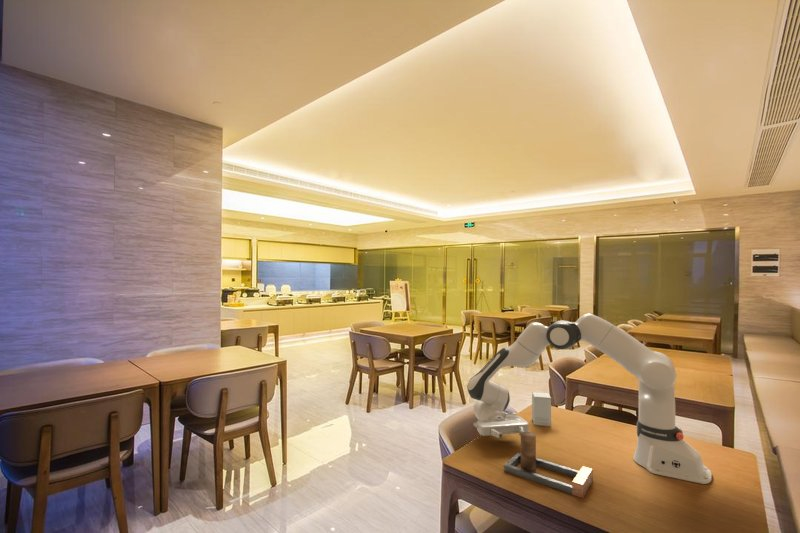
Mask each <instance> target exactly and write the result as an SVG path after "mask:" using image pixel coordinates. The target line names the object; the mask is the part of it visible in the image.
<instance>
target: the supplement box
mask: <svg viewBox="0 0 800 533" xmlns="http://www.w3.org/2000/svg"><path fill="white" fill-rule="evenodd" d="M531 394H532V395H531V401H532V402H531V420H532V422H533V425H535V426H544V427H545V426H546V427H551V426H552V397H551V396H550V394H549V392H531Z"/></svg>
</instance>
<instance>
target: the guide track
mask: <svg viewBox="0 0 800 533" xmlns="http://www.w3.org/2000/svg"><path fill="white" fill-rule="evenodd" d="M520 463H521V452H516V454H515V455H513V456H512V457H511V458H510V459H509V460H508V461H506V463H505V464H504V465H503V471H504V472H505V473H508V474H511V475H514V476H517V477H520V478H523V479H526V480H528V481H531V482H534V483H538V484H539V485H544V486H546V487H549V488H551V489H555V490H558V491H561V492H564V493H566V494H570V495H572V496H575V497H578V498H581V499H584V496H585V495H586V494H587V492H588V490H589V488H590V487H591V485H592V483H593V481H594V480H593V471H594V470H593V468H590V467H588V466H585V465H582V466H581V467H580V468H579V470H577V469H574V468H570V467H568V466H564V465H562V464H558V463H554V462H552V461H548V460H545V459H542V458H538V457H536V467H541V468H544V469H546V470H549V471H553V472H556V473H559V474H562V475H565V476H568V477H571V478H573V480H572V481H571V484H569V483H566V482H563V481H561V480H557V479H553V478H551V477H547V476H545V475H541V474H538V473H536V472H535V473H533V472H530V471H527V470H524V469H521V467H517V465H518V464H520Z"/></svg>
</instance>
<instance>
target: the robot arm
mask: <svg viewBox="0 0 800 533" xmlns="http://www.w3.org/2000/svg"><path fill="white" fill-rule="evenodd" d="M580 341H583V342H586V343H588V344H589V345H591V346H592V347H593V348H595V349H597V350H598V351H600V352H602V353H603V354H605V355H606V356H607V357H609V358H610V359H612V360H613V361H615V362H616V363H617V364H619V365H620V366H621V367H622V368H623V369H625V370H626V371H627V372H628V373H630V374H631V375H632V376H634V378H636V379H638V419H637V421H636V435H637V442H636V447H635V452H634V455H633V458H632V459H633V460H634V462H635V463H636V464H638V465H639V466H641V467H643V468H644V469H646V470H647V471H648V472H649V473H651V474H655V475H659V476H663V477H668V478H673V479H677V480H681V481H687V482H692V483H696V484H702V485H706V484H709V483H711V482H712V480H713V477H712V476H713V474H712V472H711V470H710V469H709V467H707V466H706V465H705V464H704V463H703V459H702V455H701V454H700V453H699V451H698V450H696V449H695V448H694V447H693V446H691V445H690V444H689V443H688V442H687V441H686V440H685V439H684V433H683V430H682V428H681V427H680V428H679V427H677V426H676V396H675V382H676V379H677V372H676V369H675V366H674V364H673V361H672V359H671V358H670V357H669V356H668V355H667V354H665V353H663V352H659V351H655V350H652V349H650V347H647V346H646V345H645V344H643V343H642V342H641V341H639V340H638V339H636V338H635V337H634V336H632V335H631V334H629V333H628V332H626V331H624V330H622V329H621V328H620V327H618V326H617V325H615V324H613V323H611V322H609V321H608V320H606V319H604V318H602V317H601V316H600V317H599V316H597V315H596V314H593V313H585V314H582V315H581V316H579V318H578V319H577V320H576V321H575V322H573V321H570V320H566V319H563V320H557V321H555V322H553V323H552V324H549V325H547V326H546V325H545V324H543V323H540V322H535V321H533V322H530V324H528V325H527V326H526V328H524V330H522V331H521V333H520V334H519V336H518V337H517V338H516V340H515V341H514V342H513V343H512V344H510V345H509V346H507V347H504V348H501V349H499V350H498V351H497V352H496V353H495V354H494V355H493V356H492V358H490V359H489V360H488V362H486V364H485V365H484V366H483V367H482V368H481V369H480V370H479V371H478V372H477V373H476V374H475V375H473V376H472V377H471V378H470V379H469V381H468V383H467V385H466V387H467V389H466V390H467V392H468V395H469V397H471V399H474V400H476V401H475V403H474V404H473V413H474V415H475V417H476V419H477V421H475V422H473V423H472V424H473V427H475V428H476V430H477V431H478V432H477V433H478V434H479V435H480V436H483V437H488V436H493V437H495V438H498V439H502V438H503V435H512V434H513V435H514V434H519V437H521V433H522V432H529V430H530V425H529V422H528V421H527V420H525V419H524V418H523V417H521V416H519V415H517V412H515V411H506V409H507V408H508V407H509V404H510V400H511V398H510V397H511V396H510V391H509V390H508V388H507V387H505V386H503V385H502V384H499V383H497V382H494V381H493V380H491V379H492V378H493V377H494V376H495V375H496V374H497V372H498V371H499V370H500V369H502V368H504V367H520V368H525V367H526V368H527V367H530V366H532V365H534V364H535V363H536V362H537V360H538V359H539V358H540V356H541V355H542V354H543V352H544V350H545V349H546V348H547V347H548V346H551V347H553V348H555V349H557V350H568V349H570V348H572V347H573V346H575V345H576V344H577V343H579V342H580Z"/></svg>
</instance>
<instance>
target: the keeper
mask: <svg viewBox="0 0 800 533" xmlns="http://www.w3.org/2000/svg"><path fill="white" fill-rule="evenodd" d="M520 453H521V461H520V468H521V469H524V470H527V471H530V472H533V473H536V472H537V468H536V467H537V466H536V458H537V457H536V456H537V454H536V453H537V434H535V433H534V432H531V431H530V432H529V431H528V432H522V433H521V436H520Z"/></svg>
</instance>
